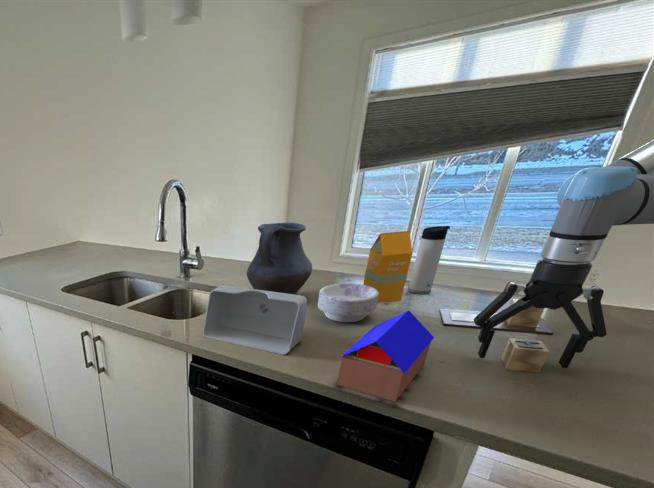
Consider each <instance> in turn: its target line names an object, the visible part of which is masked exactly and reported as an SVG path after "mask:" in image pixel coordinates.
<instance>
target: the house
mask: <svg viewBox="0 0 654 488" xmlns="http://www.w3.org/2000/svg"><path fill="white" fill-rule="evenodd" d="M434 338H435V336H434V335H433V334H432V333H431V332H430V331H429V330H428V329H427V328H426V327H425V326H424V324H422V323H421V321H420V320H419V319H418V318H417V317H416V316H415V315H414V314H413V313H412V312H411V311H410V310H406V311H404V312H402V313H400V314H397V315H396V316H394V317H391V318H389V319H387V320H385V321H383V322H380V323H378V324H375V325H374V326H373V327H372V328H371V329H370V330H368V331H367V332H366V333H365V334H364V335H363V336H362V337H360V339H358V340H357V341H356V342H355V343H354V344H353V345H352V346H350V347H349V348H348V349H347V350H346V351H344V352H343V353H342V355H340V356H339V357H340V358H341V360H340V366H339V370H338V376H337V382H336V385H337V386H341V387H344V388H347V389H350V390H354V391H357V392H361V393H364V394H368V395H372V396H374V397H377V398H381V399H384V400H388V401H391V402H396V401H397V400H398V399H399V398H400V397H401V395H402V394H403V392H404V391H405V390H406V389H407V387H408V386H409V385H410V384H411V382H412V381H413V380H414V378H415V377H416V376H417V375H418V373H419V372H420V370H421V369H422V368H423V367H424V366H425V363H426V359H427V356H428V353H429V349H430V346H431V343H432V342H433V341H434Z"/></svg>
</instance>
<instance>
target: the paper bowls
mask: <svg viewBox="0 0 654 488" xmlns="http://www.w3.org/2000/svg"><path fill="white" fill-rule="evenodd" d="M378 296H379V292H378V291H377V290H376V289H375V288H373V287H370V286H366V285H363V284H359V283H346V282H345V283H334V284H329V285H326V286H323V287H322V288H321V289H320V290H319V294H318V301H317V308H318V309H319V310H320V311H321V312H324V315H325V316H326V318H328V319H329V320H331V321H334V322H339V323H356V322H360V321H362V320H364V319H365V317H366V316H367V315H371V314H373V313H374V312H375V311H376V309H377V305H378V303H379V302H378Z"/></svg>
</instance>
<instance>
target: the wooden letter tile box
mask: <svg viewBox="0 0 654 488" xmlns="http://www.w3.org/2000/svg"><path fill="white" fill-rule="evenodd" d="M519 299H520V298H511V299H510V302H509V304H508V307H509V306H511V305H512V304H514V303H516V302H517V301H518V300H519ZM544 311H545V308H541V309H540V308H535V307H533V306H532V307H530V308H528V309H526V310H523V311H521V312H519V313H517V314H516V315H514V316H512V317H511V318H509V319H507V321H508V323H509V324H516V325H529V326H537V324H538V322H539V320H540V317H541V318H542V315H543V313H544Z"/></svg>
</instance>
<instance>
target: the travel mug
mask: <svg viewBox="0 0 654 488" xmlns="http://www.w3.org/2000/svg"><path fill="white" fill-rule="evenodd" d="M450 229H451V226H450V225H439V226H430V227H425V228H424V229H423V230H422V233H421V234H422V235H421V237H420V240H419V244H418V249H417V252H416V256H415V260H414V263H413V268H412V272H411V275H410V279H409V283H408V287H407V292H409V293H410V294H416V295H428V294H430V293H431V291H432V287H433V285H434V281H435V277H436V274H437V271H438V267H439V264H440V260H441V257H442V254H443V253H442V252H443V250H444V246H445V242H446V238H447V234H448V230H450Z"/></svg>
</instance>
